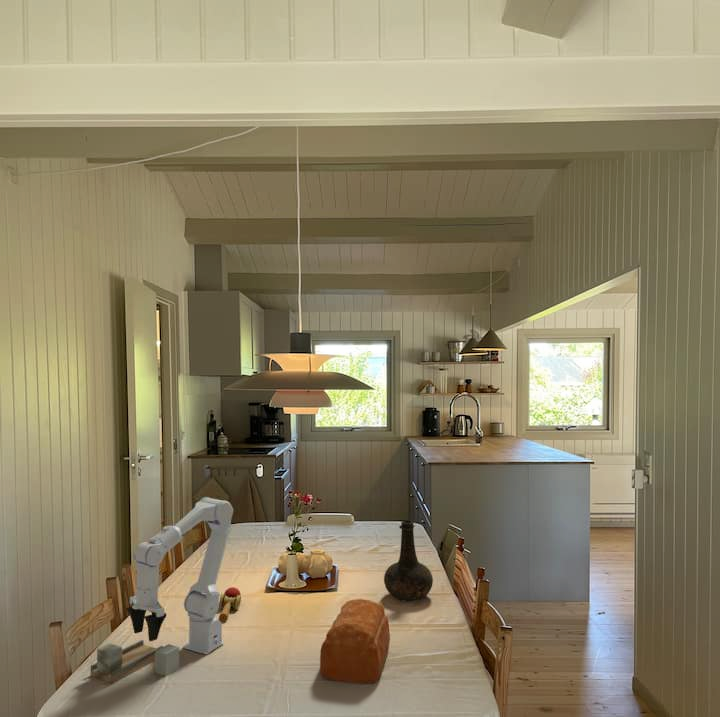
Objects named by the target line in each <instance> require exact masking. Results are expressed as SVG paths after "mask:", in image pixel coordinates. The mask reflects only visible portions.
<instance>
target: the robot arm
mask: <svg viewBox="0 0 720 717" xmlns="http://www.w3.org/2000/svg"><path fill="white" fill-rule="evenodd" d="M194 506H195V507H194V508H192V509H191V510H190V511H189V512H188V513H187V514H186V515H185V516H184V517H182V518H181V519H180V520H179V521H178V522H177V523H176V524H174V525H164V526H163V527H162V528H161V529H162V530H160V531H159V532H158V533H157V534H156V535H154V536H152V537H150V538H149V540H148V541H145V542H141V543H140V544H138V545H137V546H136V548H135V550H134V553H132V558H133V560H134V561H135V564H136V565H135V566H136V591H135V592H136V595H134V596H130V597H129V604H130V605H131V606H129V607H127V608H126V611H127V613H128V614H129V616H130V619H131V623H132V628H133V632H134V634H136V635H137V634H139V633H142V632H143V629H144V625H145V622H146V626H147V635H148V641H149V642H153V641H156V640H158V637H159V634H160V631H161V628H162V625H163V623H164V621H165V619H166V617H167V613H166V612H165V608H164V607H163V606H162V604H161V603H160V602H159V600H158V599H159V595H158V594H159V574H160V571H159V570H160V567H159V566H160V564H161V563H162V562H163V560H164V557H165V555H166V554H167V552H169V551H170V550H171V549H172V548H174V547H175V546H176V545H178V544H179V543H180V542H181V540H182V535H184V534H185V533H186V532H188V531H189V530H191V529H193V528H194V527H195V526H197V525H198V524H199V523H201V522H206V523H207V524H208V525H209V528H210V530H211V532H210V536H209V540H208V543H207V546H206V551H205V554H204V556H203V557H204V558H203V561H202V564H201V568H200V571H199V572H200V573H199V576H198V580H197V582H195V583H194V584H192V585H191V586H190V587H189V591H188V593H187V595H186V596H185V598H184V600H183V601H184V602H183V607H184V610H185V611H186V612H187V617H188V642H187V643H186V644H184V645H182V648H183V649H186V650H189V651H192V652H196V653H199V654H202V653H203V655H208V654H210V653H212V652H213V651H214V649H215V650H217V649H218V648H220V647H222V646H223V645H224V642H223V639H222V637H223V636H222V634H223V633H222V631H223V627H222V626H223V625H222V621H220V620H219V619H218V618H216V614H218V611H219V608H220V607H219V601H220V597H221V593H220V591H219V590H218V587H217V579H218V578H219V573H220V569H221V566H222V562H223V558H224V554H225V550H226V546H227V544H228V539H229V536H230V532H231V527H232V525H231V523H232V517H233V514H234V508H233V506H232V504H231V503H230V502H229V501H228V500H221V499H217V498H211V497H208V496H205V497H202V498H201V499H200V501H197V502H196V503H195V505H194ZM147 612H149V613H151V614H148V615H146V614H147ZM222 644H223V645H222ZM219 646H220V647H219ZM217 647H218V648H217Z"/></svg>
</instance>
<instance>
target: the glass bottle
mask: <svg viewBox="0 0 720 717" xmlns="http://www.w3.org/2000/svg"><path fill="white" fill-rule="evenodd" d="M414 527H415V525H414V521H412V520H409V519H408V520H402V521H401V525H399V529H401V536H400V550H399V551H400V552H399V558H398V561H397V562H395V563H392V564H391V565H390V566H389V567H388V568H386V569H385V573H384V575H383V584H384V586H385V589H386V590H387V592H388V594H390V595H391V596H392V597H393V598H394V599H397V600H399V601H401V602H417V601H420V600H422V599H424V598H425V597H427V596H428V594H429V593H430V591H431V590H432V587H433V583H434V580H433V574H432V572H431V571H430V569H429V568H428V567H427V565H425V564H423V563H421V562H419V560H418V556H417V554H416V547H415V537H414V536H415V535H414Z"/></svg>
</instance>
